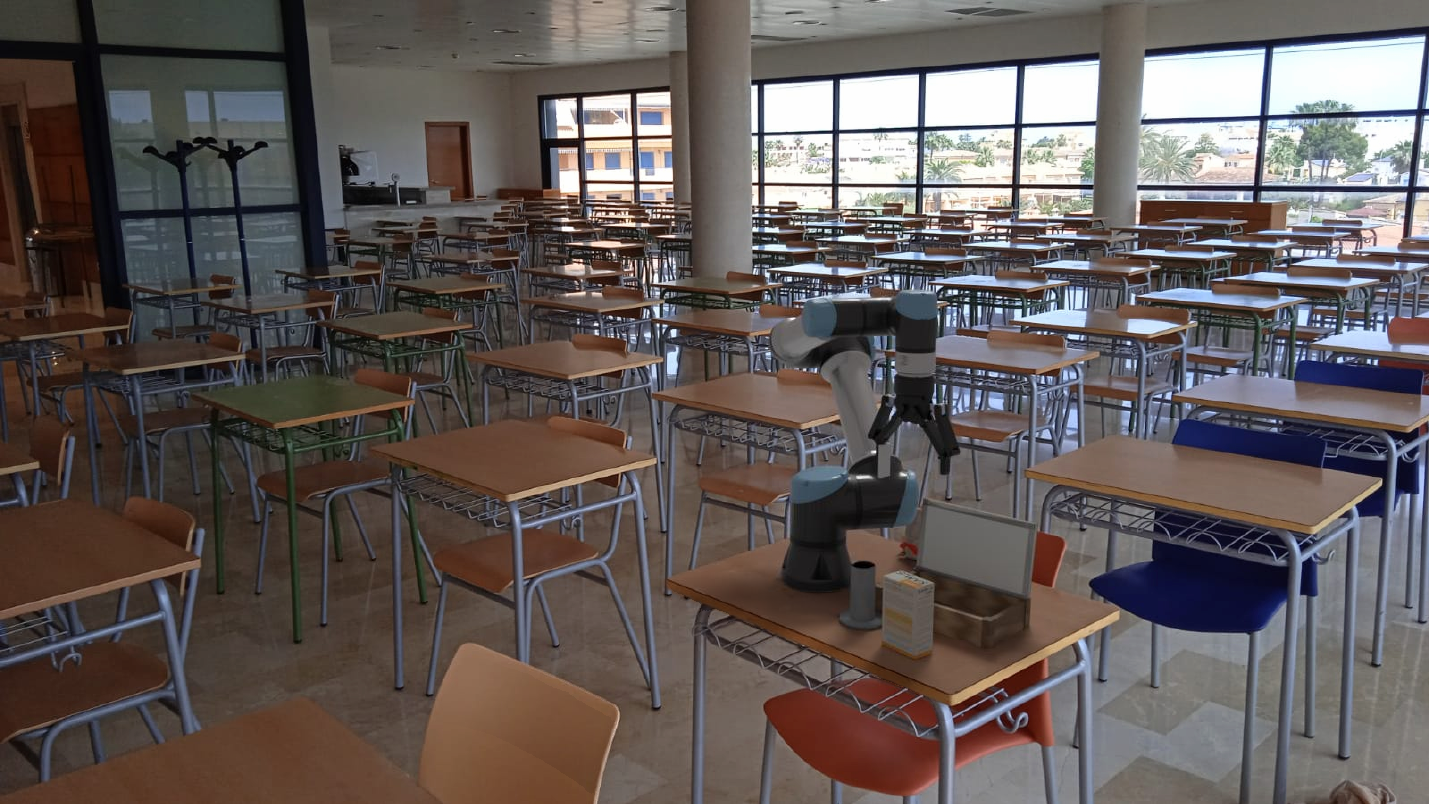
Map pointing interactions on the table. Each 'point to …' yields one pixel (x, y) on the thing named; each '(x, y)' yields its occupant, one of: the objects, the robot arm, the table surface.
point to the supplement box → (908, 614)
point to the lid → (977, 547)
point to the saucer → (861, 625)
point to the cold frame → (984, 632)
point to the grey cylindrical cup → (862, 590)
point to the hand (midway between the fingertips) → (911, 483)
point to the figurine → (912, 537)
